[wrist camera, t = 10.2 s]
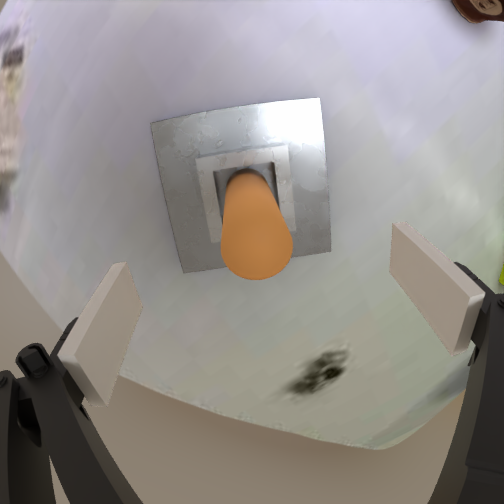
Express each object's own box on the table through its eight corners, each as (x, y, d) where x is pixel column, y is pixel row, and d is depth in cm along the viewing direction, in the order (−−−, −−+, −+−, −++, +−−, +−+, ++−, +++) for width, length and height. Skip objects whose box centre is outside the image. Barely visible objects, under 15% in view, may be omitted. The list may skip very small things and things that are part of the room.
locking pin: (223, 171, 30) (214, 219, 17) (264, 165, 30) (289, 208, 17) (229, 211, 31) (227, 284, 19) (270, 205, 31) (295, 274, 19)
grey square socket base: (152, 122, 28) (143, 124, 25) (316, 98, 28) (326, 97, 25) (184, 269, 35) (180, 285, 32) (328, 247, 35) (337, 261, 31)
